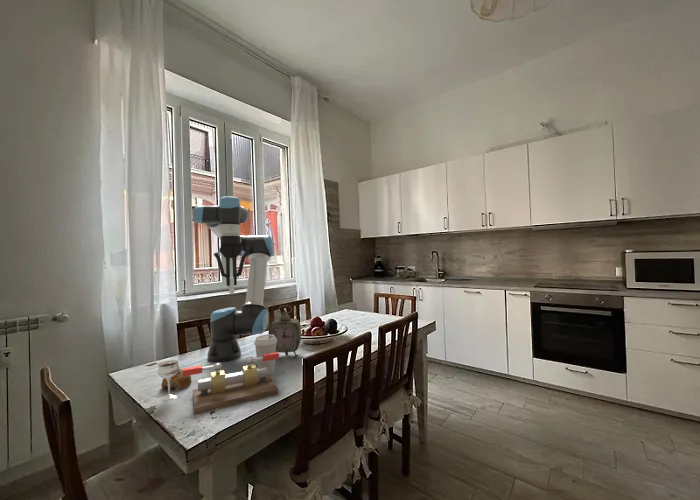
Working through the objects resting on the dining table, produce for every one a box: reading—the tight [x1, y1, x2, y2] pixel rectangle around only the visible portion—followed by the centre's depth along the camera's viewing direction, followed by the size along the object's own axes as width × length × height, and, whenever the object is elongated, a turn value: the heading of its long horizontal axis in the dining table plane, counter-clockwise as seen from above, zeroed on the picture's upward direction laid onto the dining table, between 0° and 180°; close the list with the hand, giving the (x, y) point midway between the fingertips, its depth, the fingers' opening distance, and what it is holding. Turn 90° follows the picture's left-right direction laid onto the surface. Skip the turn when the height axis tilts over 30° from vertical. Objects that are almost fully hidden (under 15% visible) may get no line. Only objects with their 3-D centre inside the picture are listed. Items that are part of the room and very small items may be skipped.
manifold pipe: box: [197, 363, 268, 395], centre depth 115 cm, size 4×24×8 cm, turn 118°
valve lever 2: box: [245, 352, 280, 365], centre depth 120 cm, size 12×3×2 cm, turn 120°
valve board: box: [192, 375, 279, 415], centre depth 113 cm, size 15×27×2 cm, turn 118°
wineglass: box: [157, 359, 180, 401], centre depth 112 cm, size 7×7×12 cm
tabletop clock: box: [267, 304, 302, 359], centre depth 152 cm, size 14×9×25 cm, turn 91°
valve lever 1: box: [182, 362, 223, 376], centre depth 110 cm, size 12×3×2 cm, turn 117°
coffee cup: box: [253, 334, 277, 376], centre depth 132 cm, size 10×10×15 cm
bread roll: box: [161, 368, 192, 392], centre depth 122 cm, size 10×10×8 cm
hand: (231, 293), depth 127 cm, fingers closed
